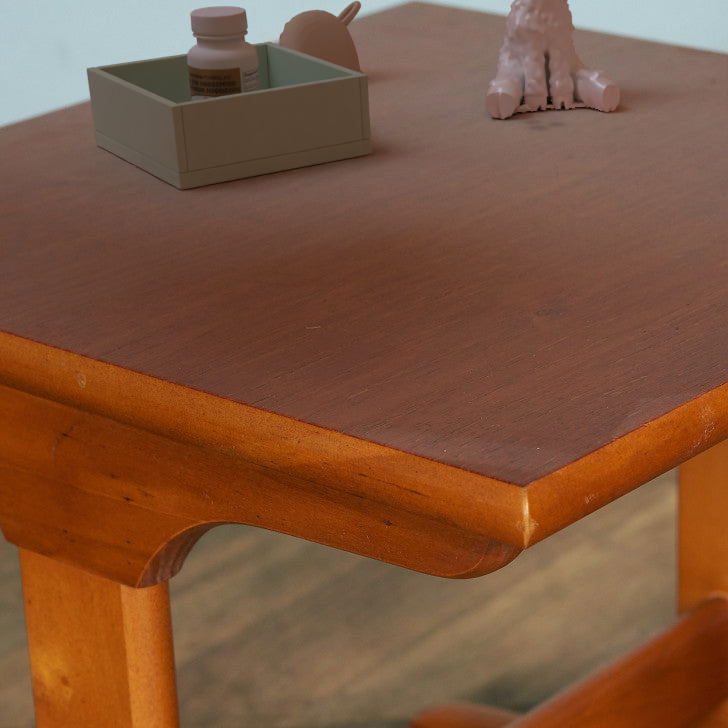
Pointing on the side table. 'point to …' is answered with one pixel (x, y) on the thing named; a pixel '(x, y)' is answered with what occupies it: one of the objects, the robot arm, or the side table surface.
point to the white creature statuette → (545, 64)
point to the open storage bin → (230, 118)
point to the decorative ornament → (323, 36)
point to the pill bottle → (221, 54)
